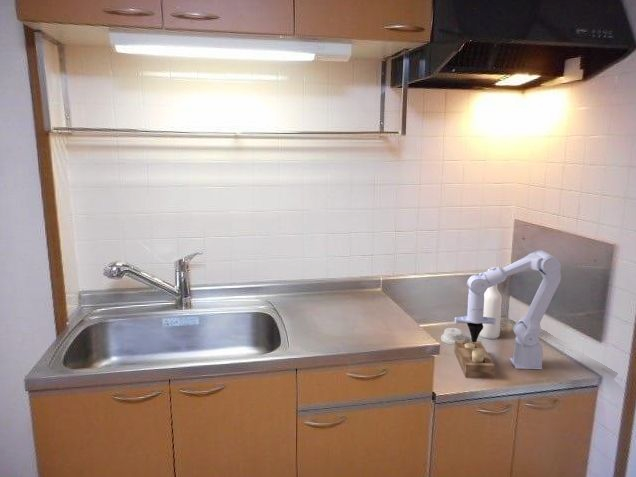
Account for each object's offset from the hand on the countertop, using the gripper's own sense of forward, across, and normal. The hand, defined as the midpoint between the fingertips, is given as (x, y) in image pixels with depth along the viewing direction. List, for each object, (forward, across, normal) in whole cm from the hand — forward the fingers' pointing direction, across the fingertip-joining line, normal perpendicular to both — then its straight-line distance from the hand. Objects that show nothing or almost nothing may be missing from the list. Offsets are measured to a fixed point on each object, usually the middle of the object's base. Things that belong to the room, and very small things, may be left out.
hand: (473, 341), depth 173 cm
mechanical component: (+10, +4, -21) cm, 24 cm away
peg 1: (+9, 0, -5) cm, 11 cm away
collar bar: (+9, 0, 0) cm, 9 cm away
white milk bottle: (+10, -13, -27) cm, 31 cm away
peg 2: (+6, 0, +7) cm, 9 cm away
